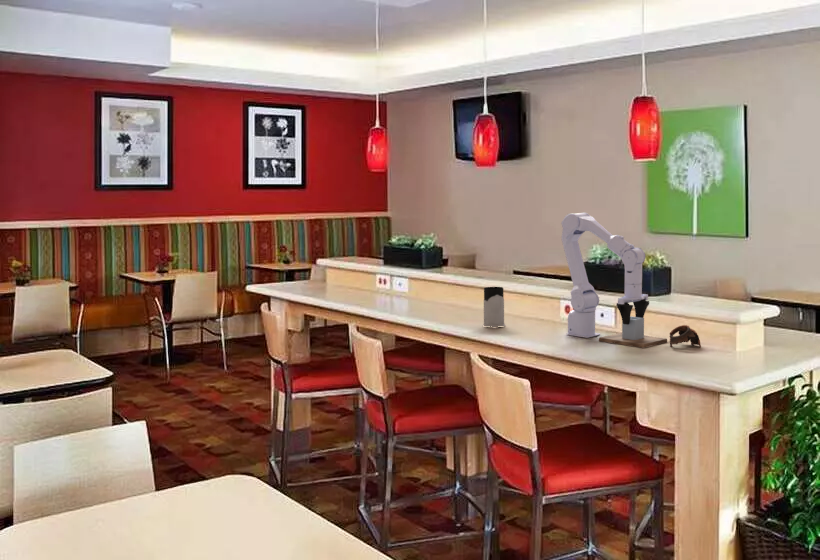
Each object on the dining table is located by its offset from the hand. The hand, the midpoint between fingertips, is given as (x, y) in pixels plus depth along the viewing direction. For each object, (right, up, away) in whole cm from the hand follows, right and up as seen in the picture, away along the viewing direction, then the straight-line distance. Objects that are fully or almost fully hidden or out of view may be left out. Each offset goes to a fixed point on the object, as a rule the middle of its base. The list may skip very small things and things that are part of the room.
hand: (632, 322), depth 297 cm
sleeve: (0, -5, +1) cm, 5 cm away
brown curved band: (+15, -8, -9) cm, 19 cm away
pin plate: (0, -7, +1) cm, 7 cm away
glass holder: (-45, -3, +40) cm, 60 cm away
